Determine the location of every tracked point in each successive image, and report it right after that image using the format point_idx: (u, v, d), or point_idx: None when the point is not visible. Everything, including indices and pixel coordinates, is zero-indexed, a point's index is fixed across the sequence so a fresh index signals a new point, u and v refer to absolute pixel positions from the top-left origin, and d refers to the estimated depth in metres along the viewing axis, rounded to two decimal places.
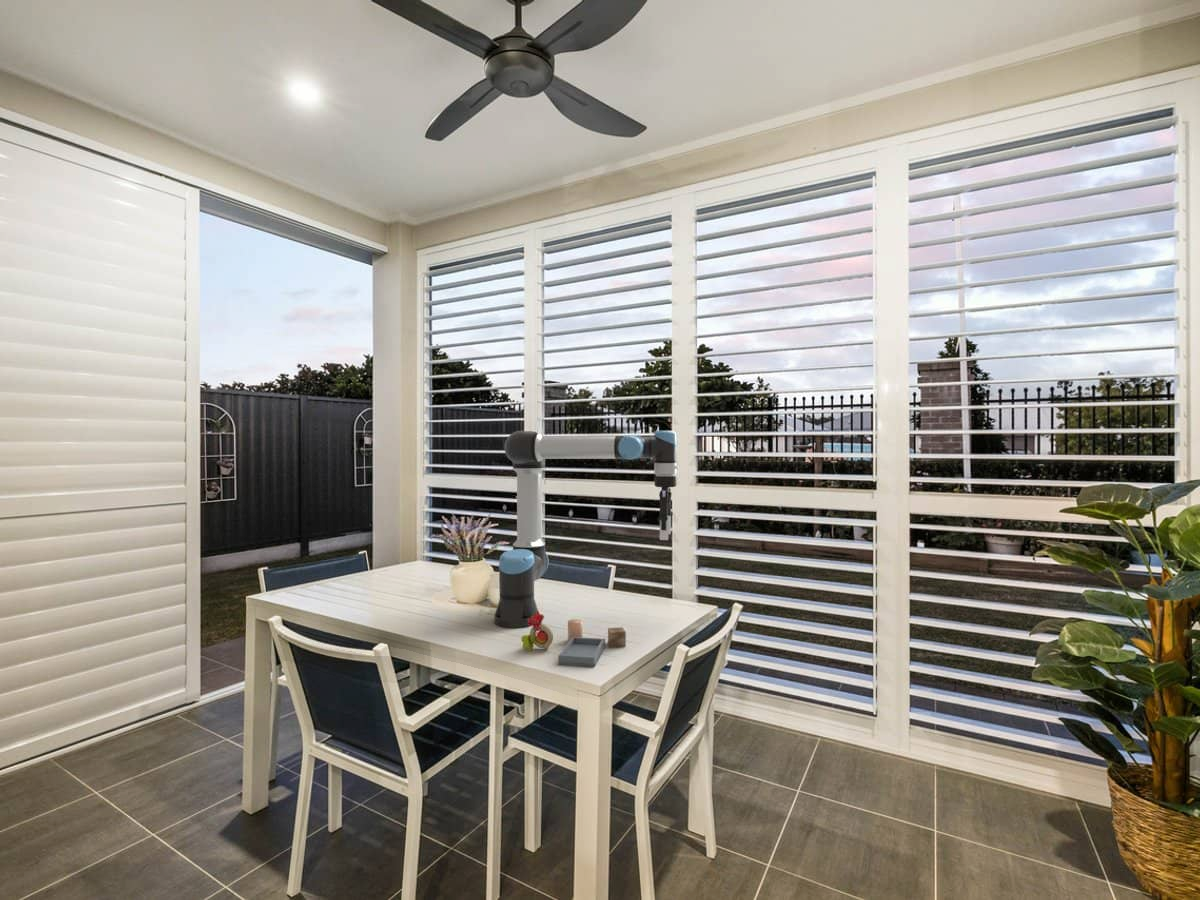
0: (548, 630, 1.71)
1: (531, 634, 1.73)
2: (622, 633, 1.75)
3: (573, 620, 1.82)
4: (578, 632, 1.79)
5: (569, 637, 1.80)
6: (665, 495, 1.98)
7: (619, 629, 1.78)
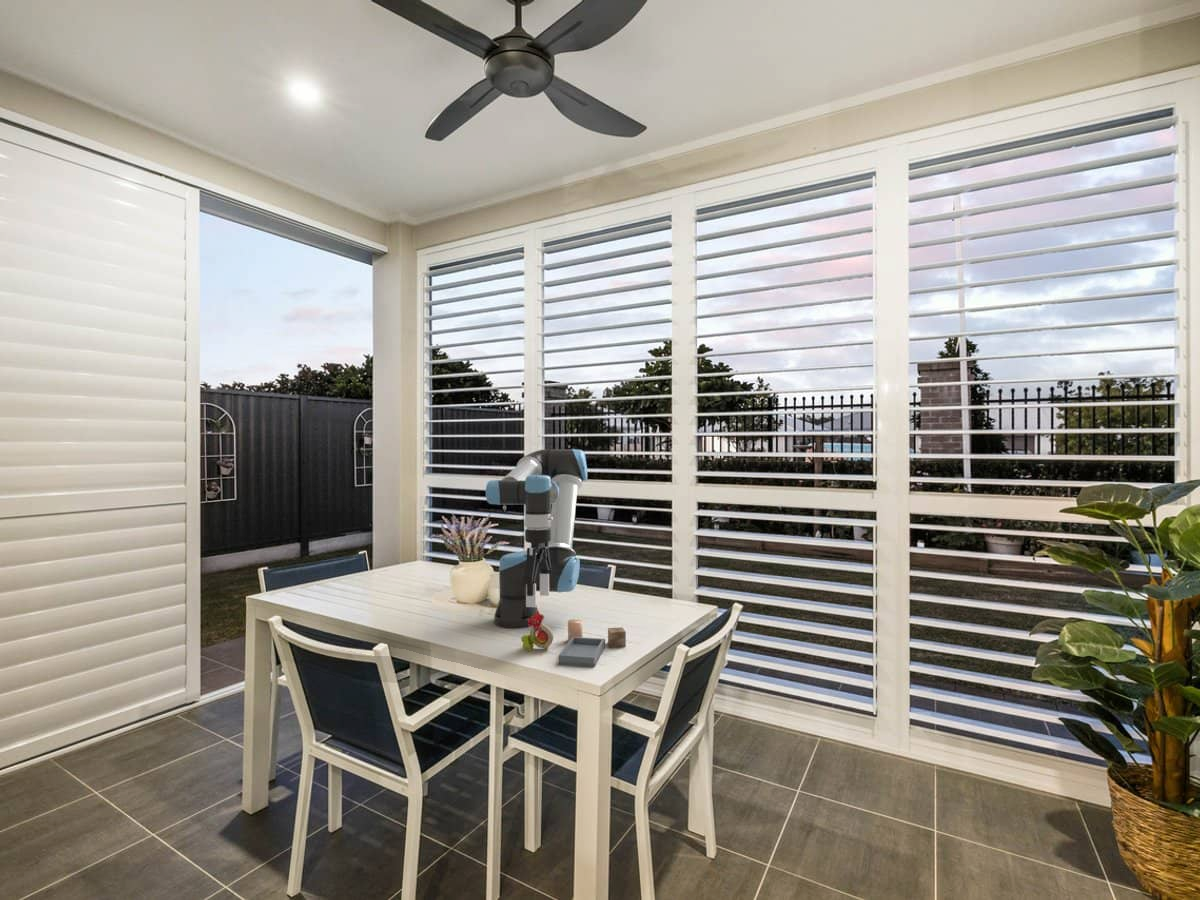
0: (548, 630, 1.71)
1: (531, 634, 1.73)
2: (622, 633, 1.75)
3: (573, 620, 1.82)
4: (578, 632, 1.79)
5: (569, 637, 1.80)
6: (532, 553, 1.67)
7: (619, 629, 1.78)
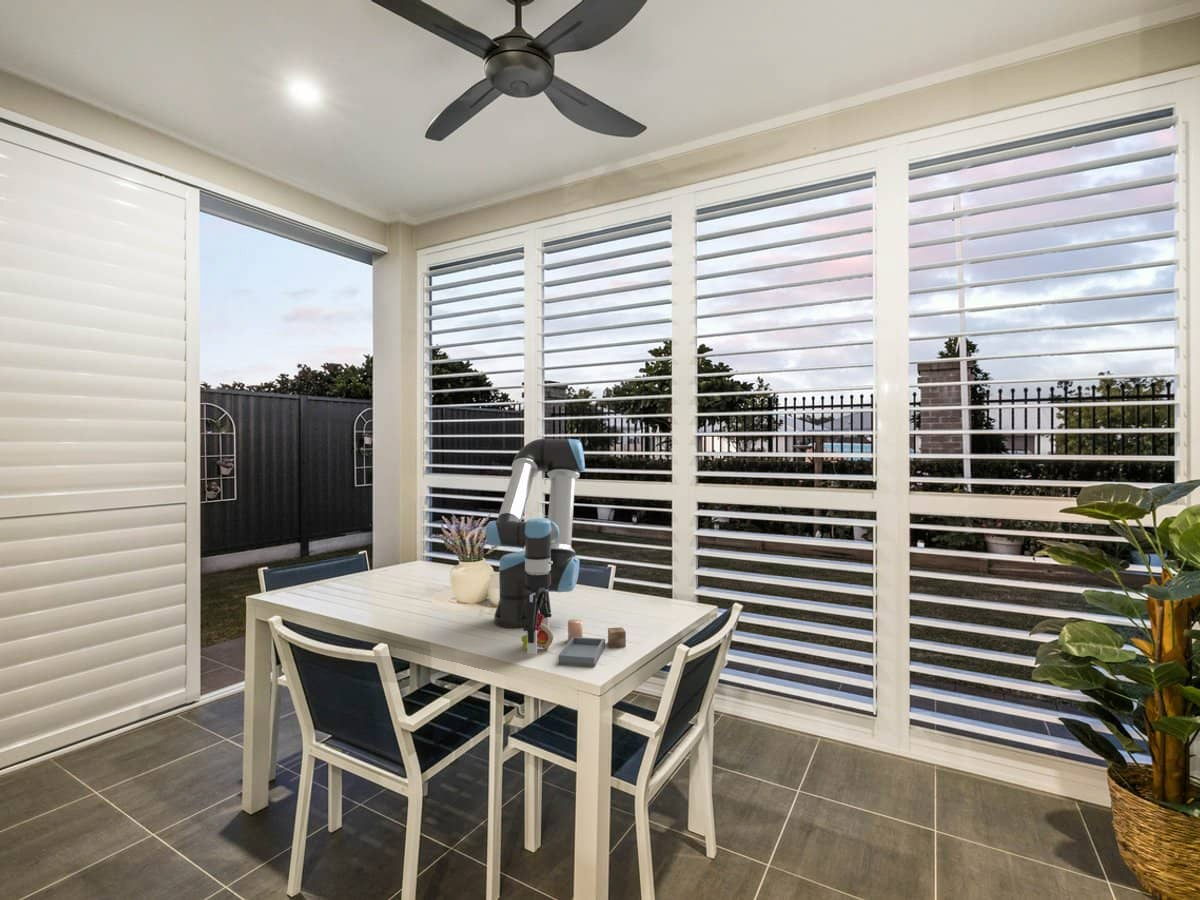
0: (548, 630, 1.71)
1: None
2: (622, 633, 1.75)
3: (573, 620, 1.82)
4: (578, 632, 1.79)
5: (569, 637, 1.80)
6: (532, 600, 1.67)
7: (619, 629, 1.78)
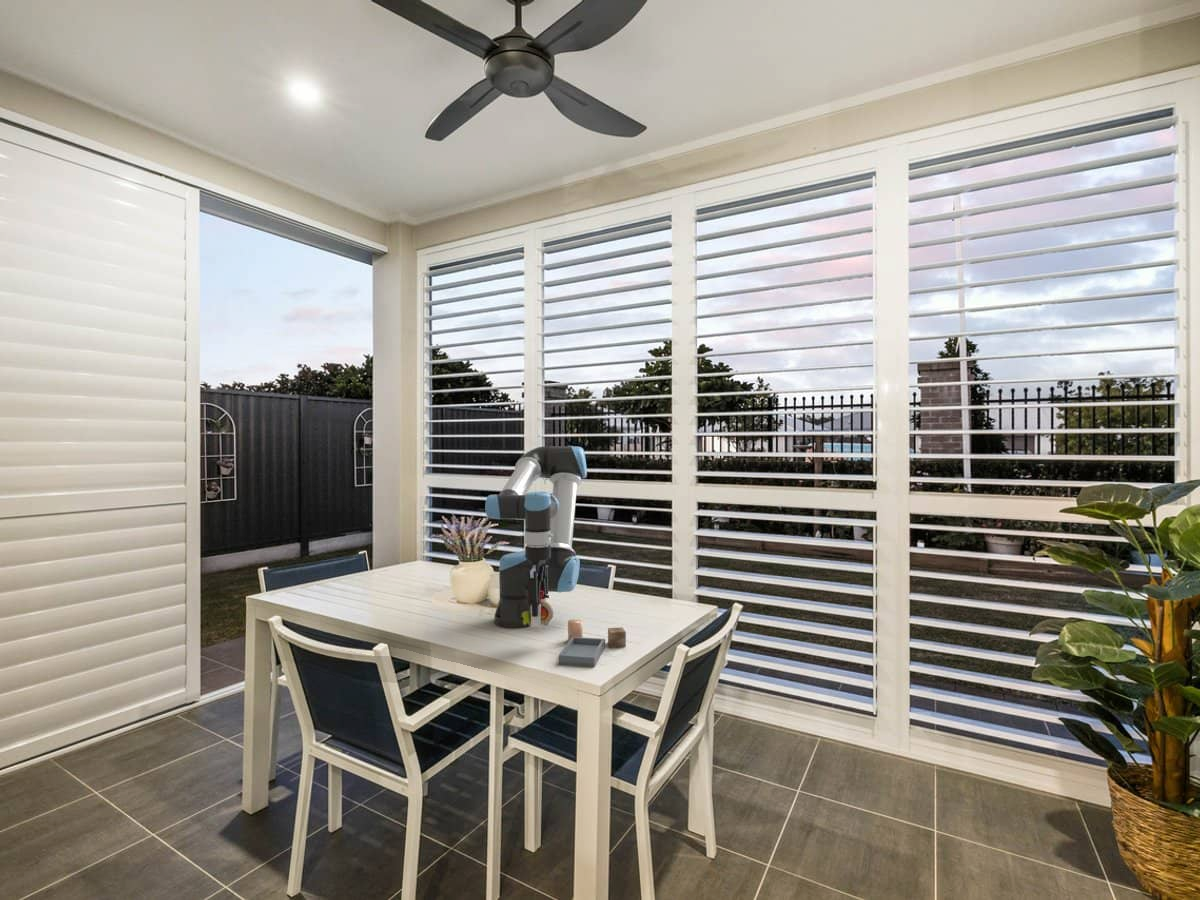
0: (548, 605, 1.72)
1: None
2: (622, 633, 1.75)
3: (573, 620, 1.82)
4: (578, 632, 1.79)
5: (569, 637, 1.80)
6: (533, 576, 1.68)
7: (619, 629, 1.78)
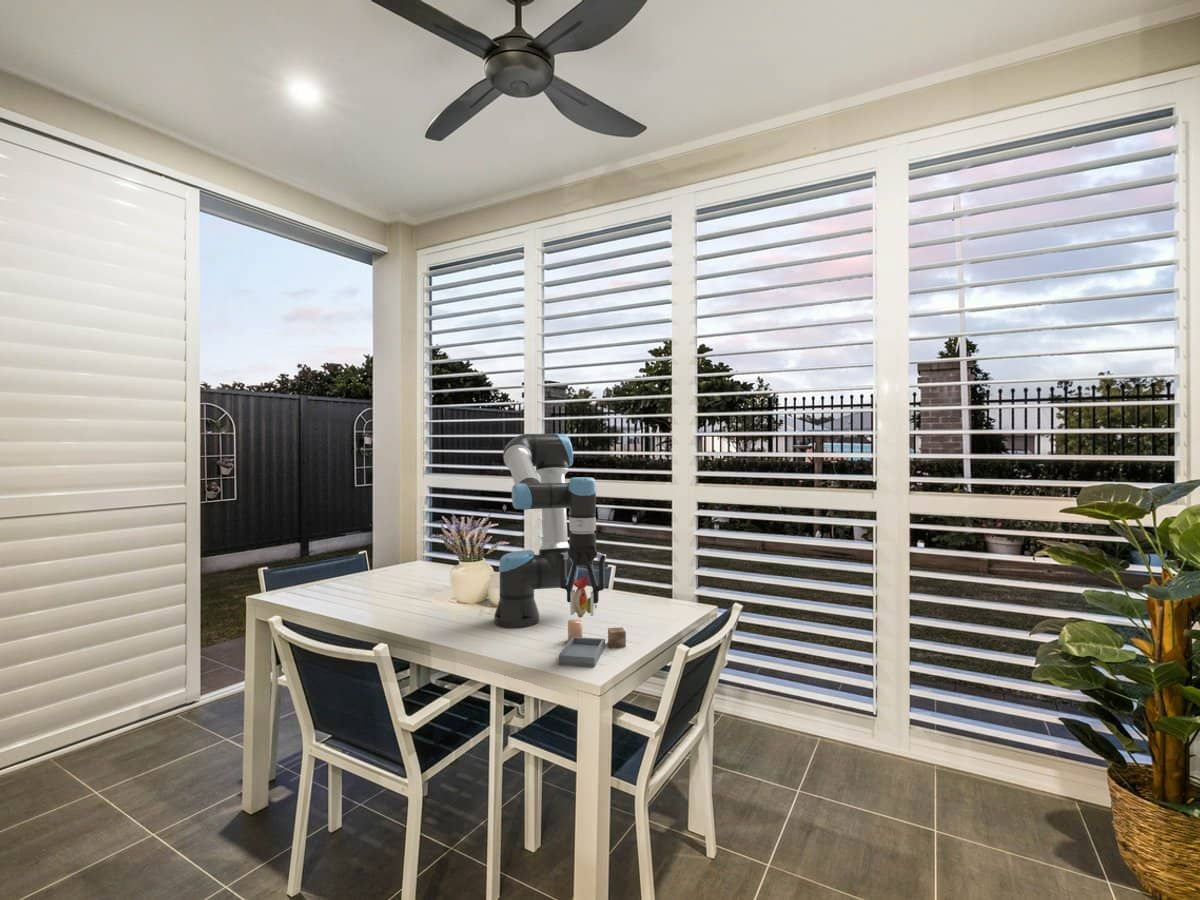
0: (574, 595, 1.65)
1: None
2: (622, 633, 1.75)
3: (573, 620, 1.82)
4: (578, 632, 1.79)
5: (569, 637, 1.80)
6: None
7: (619, 629, 1.78)
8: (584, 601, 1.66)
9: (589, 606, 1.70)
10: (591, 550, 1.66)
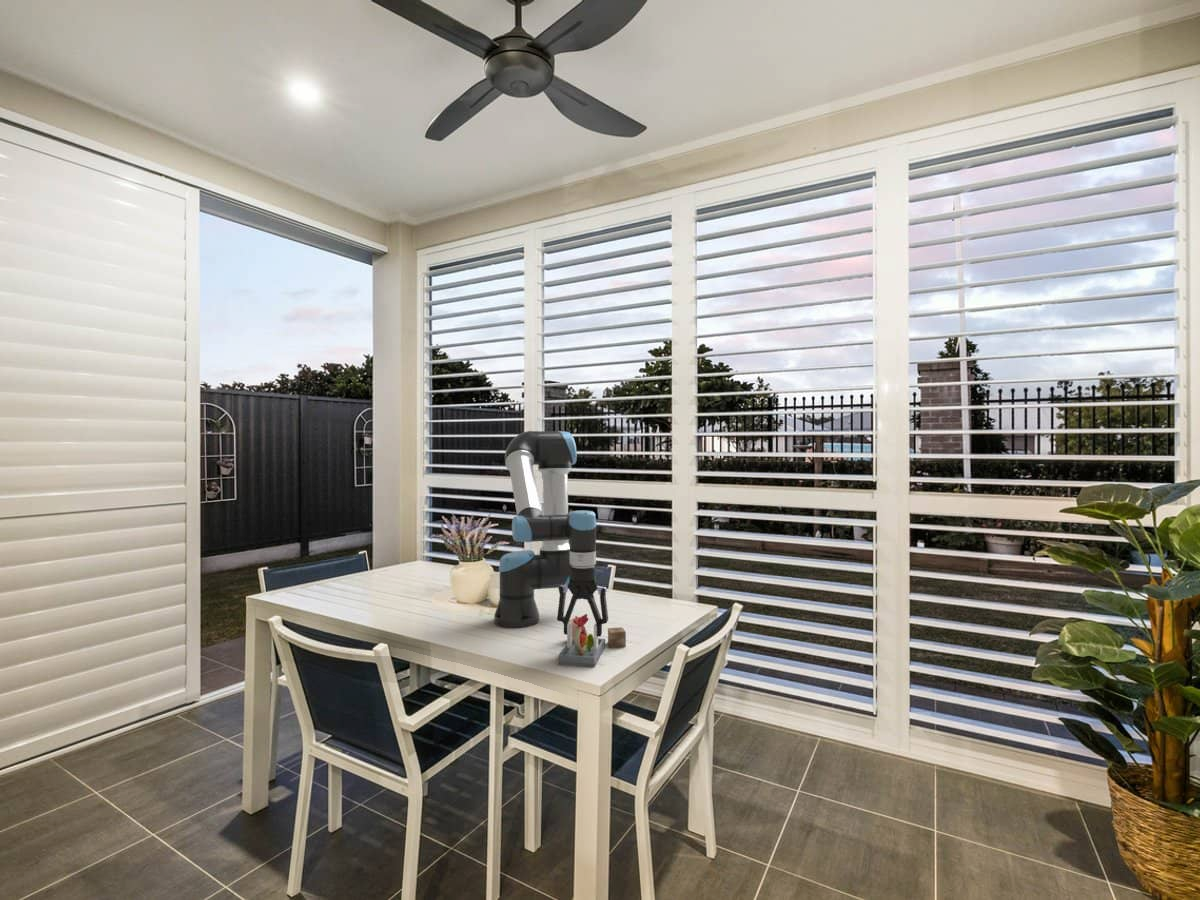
0: (574, 633, 1.65)
1: None
2: (622, 633, 1.75)
3: None
4: None
5: None
6: None
7: (619, 629, 1.78)
8: (584, 639, 1.66)
9: (589, 643, 1.71)
10: (591, 584, 1.67)
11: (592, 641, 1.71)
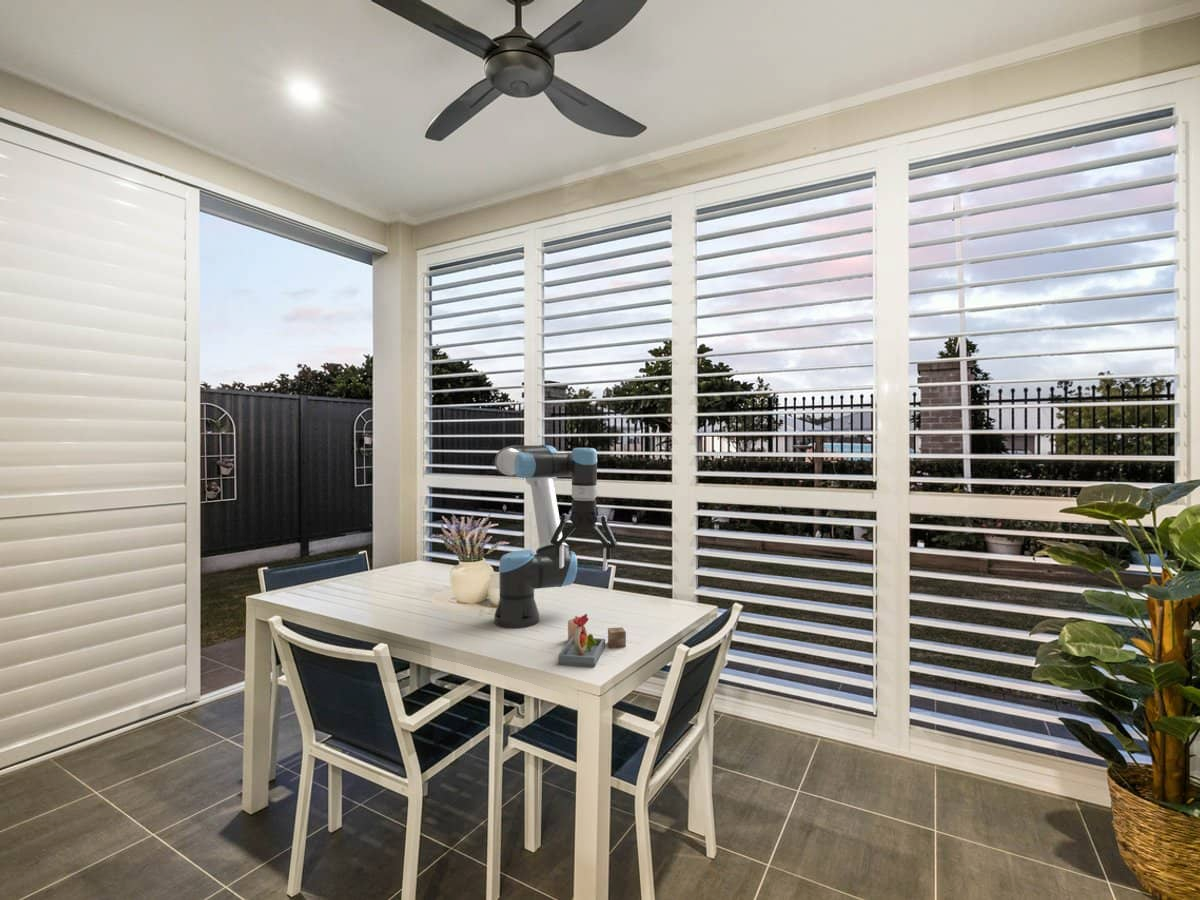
0: (574, 633, 1.65)
1: None
2: (622, 633, 1.75)
3: None
4: None
5: (569, 637, 1.80)
6: None
7: (619, 629, 1.78)
8: (584, 639, 1.66)
9: (589, 643, 1.71)
10: (591, 516, 1.78)
11: (592, 641, 1.71)
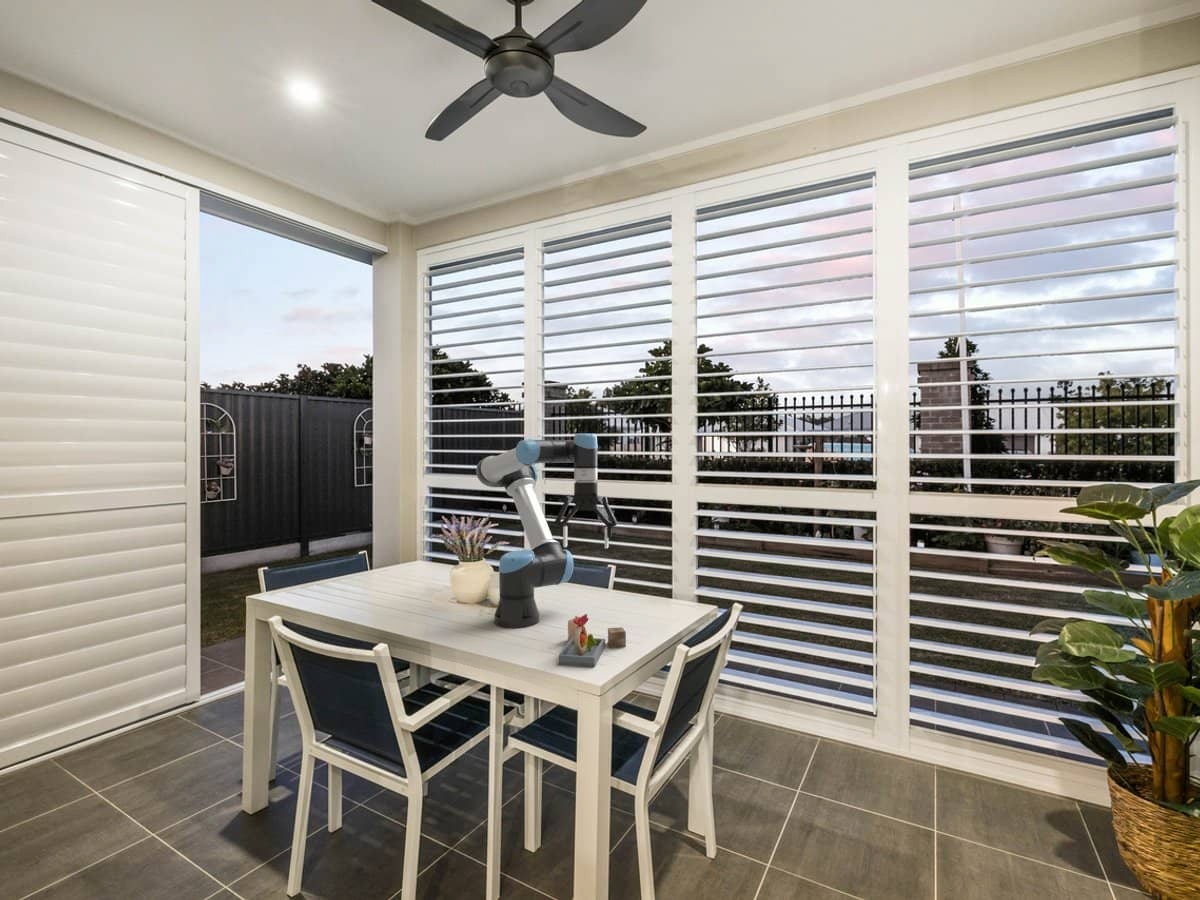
0: (574, 633, 1.65)
1: None
2: (622, 633, 1.75)
3: None
4: None
5: (569, 637, 1.80)
6: None
7: (619, 629, 1.78)
8: (584, 639, 1.66)
9: (589, 643, 1.71)
10: (592, 497, 1.90)
11: (592, 641, 1.71)
